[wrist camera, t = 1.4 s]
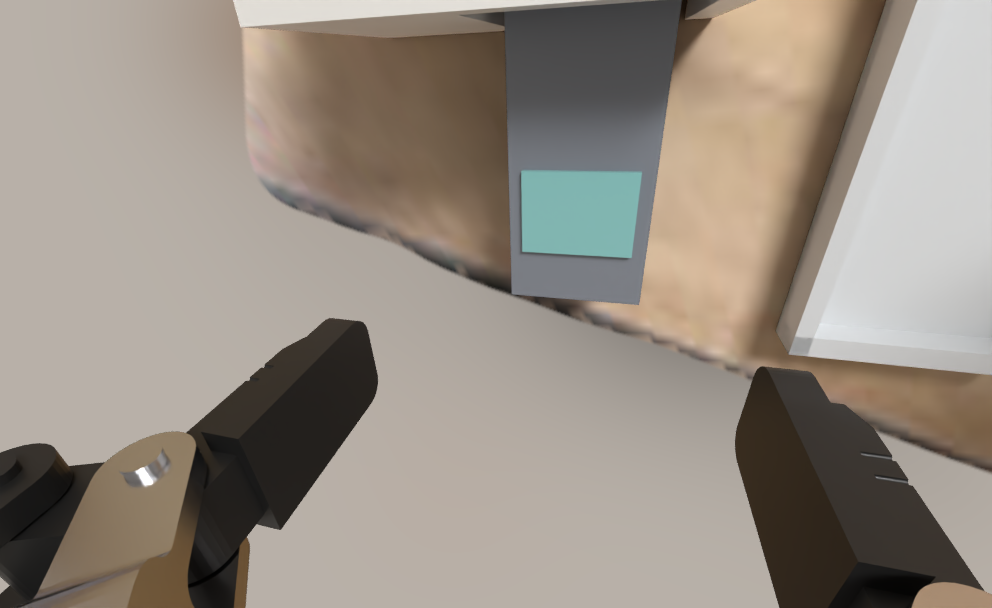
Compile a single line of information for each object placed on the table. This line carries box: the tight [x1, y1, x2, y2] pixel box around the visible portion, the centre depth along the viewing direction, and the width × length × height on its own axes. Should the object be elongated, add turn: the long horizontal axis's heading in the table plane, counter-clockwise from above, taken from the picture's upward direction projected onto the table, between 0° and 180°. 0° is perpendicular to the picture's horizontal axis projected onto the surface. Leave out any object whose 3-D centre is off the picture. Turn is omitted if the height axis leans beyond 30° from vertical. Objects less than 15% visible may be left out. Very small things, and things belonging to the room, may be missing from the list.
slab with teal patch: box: [504, 0, 682, 305], centre depth 16 cm, size 5×13×6 cm, turn 2°
